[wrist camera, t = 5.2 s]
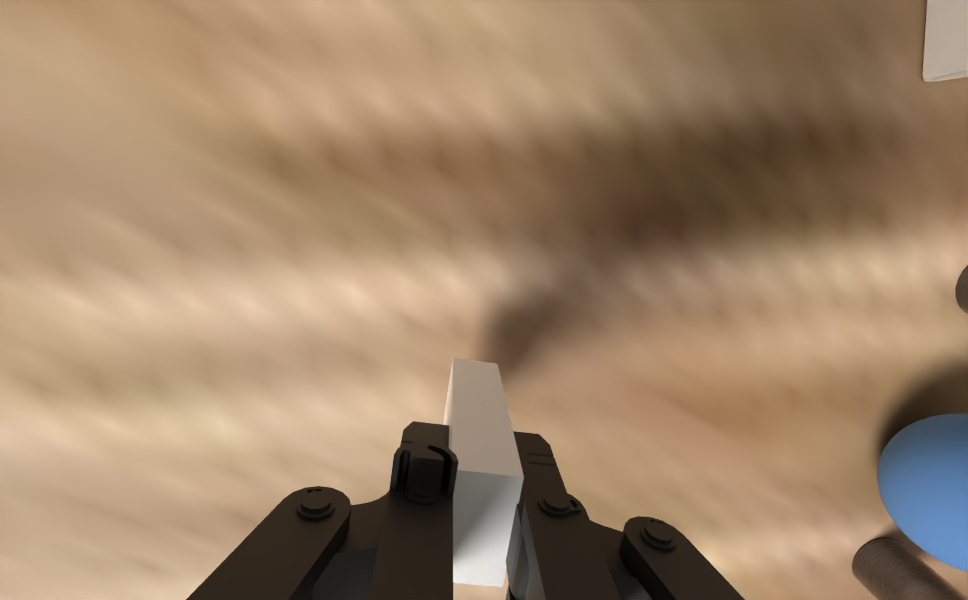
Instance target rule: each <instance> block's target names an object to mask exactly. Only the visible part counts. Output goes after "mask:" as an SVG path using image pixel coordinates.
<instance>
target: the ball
mask: <svg viewBox="0 0 968 600" xmlns="http://www.w3.org/2000/svg"><path fill="white" fill-rule="evenodd" d="M877 479H878V487H879V491H880V495H881V498H882V501H883V503H884V505H885V507H886V509H887V511H888V513H889V515H890V516H891V518H892V519H893V521H894V522H895V523H896V525H897V526H898V527H899V528H900V529H901V531H902V532H903V533H904V534H905V535H906V536H907V537H908V538H909V539H910V540H911V541H913V542H914V543H915V544H916V545H917V546H919V547H920V548H921V549H923V550H924V551H925V552H927V553H928V554H930V555H931V556H933V557H935V558H936V559H938V560H940V561H942V562H944V563H946V564H948V565H950V566H952V567H954V568H957V569H960V570H962V571H965V572H968V414H965V413H955V414H943V415H937V416H931V417H928V418H925V419H922V420H919V421H916V422H914V423H912V424H910V425H908V426H906V427H905V428H903V429H902V430H900V431H899V432H898V433H897V434H896V435H895V436H894V437H893V438H892V439H891V440H890V441H889V442H888V444H887V445H886V447H885V448H884V450H883V452H882V454H881V457H880V460H879V464H878V471H877Z"/></svg>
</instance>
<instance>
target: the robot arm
mask: <svg viewBox="0 0 968 600" xmlns="http://www.w3.org/2000/svg"><path fill="white" fill-rule="evenodd" d="M506 567H507V574H508V581H509V585H508V590H507V595H506V600H745V599H744V598H743V597H742V596H741V595H740V594H739V593H738V592H737V591H736V590H735V589H734V588H733V587H732V586H731V585H730V584H729V582H728V581H727V580H726V579H725V578H724V577H723V576H722V575H721V574H720V573H719V572H718V571H717V570H716V569H715V568H714V567H713V566H712V565H711V563H710V562H709V561H708V560H707V559H706V558H705V557H704V556H703V555H702V554H701V553H700V552H699V551H698V550H697V549H696V548H695V547H694V546H693V544H692V543H691V542H690V541H689V540H688V539H687V538H686V537H685V536H684V535H683V534H682V533H680V532H679V531H678V530H677V529H676V528H674V527H673V526H671V525H669V524H667V523H665V522H664V521H661V520H659V519H655V518H651V517H640V516H638V517H635V518H631V519H629V520H628V521H627V522H626V523H625V526H624V530H623V532H621V531H618V530H615V529H612V528H609V527H605V526H602V525H600V524H597V523H595V522H593V521H591V520H589V517H588V515H587V512H586V510H585V508H584V507H583V505H582V504H581V502H580V501H578V500H577V499H576V498H575V497H573V496H572V495H570V494H568V493H567V492H566V489H565V486H564V483H563V481H562V478H561V475H560V472H559V470H558V467H557V464H556V461H555V458H553V453H552V450H551V447H550V445H549V444H548V443H547V442H546V441H545V440H544V439H543V438H542V437H541V436H540V435H539V434H532V433H523V432H514V431H513V428H512V424H511V420H510V416H509V411H508V407H507V403H506V399H505V394H504V390H503V386H502V382H501V377H500V373H499V369H498V364H497V363H490V362H482V361H474V360H466V359H458V358H453V360H452V367H451V374H450V381H449V387H448V394H447V401H446V408H445V414H444V421H443V425H440V424H431V423H422V422H412V423H411V424H410V425H409V426H407V427H406V428H405V429H404V431H403V436H402V440H401V445H400V448H398V449H397V451H396V453H395V454H394V459H393V467H392V475H391V483H390V490H389V492H388V493H387V494H386V495H384V496H383V497H381V498H380V499H377V500H375V501H372V502H369V503H364V504H358V505H351V504H350V500H349V498H348V497H347V496H346V495H345V494H344V493H343V492H341V491H338V490H336V489H333V488H329V487H321V486H317V487H308V488H304V489H301V490H298V491H295V492H293V493H291V494H290V495H289V496H287V497H286V498H284V499H283V500H282V501H281V502H280V503H279V504H278V505H277V506H276V507H275V509H274V510H273V511H272V512H271V513H270V514H269V515H268V516H267V517H266V518H265V519H264V520H263V521H262V522H261V523H260V524H259V525H258V526H257V527H256V528H255V529H254V530H253V531H252V532H251V533H250V534H249V535H248V536H247V537H246V538H245V539H244V541H243V542H242V543H241V544H240V545H239V546H238V547H237V548H236V549H235V550H234V551H233V552H232V553H231V554H230V555H229V556H228V557H227V558H226V559H225V560H224V561H223V562H222V563H221V564H220V565H219V566H218V567H217V568H216V569H215V570H214V571H213V573H212V574H211V575H210V576H209V577H208V578H207V579H206V580H205V581H204V582H203V583H202V584H201V585H200V586H199V587H198V588H197V589H196V590H195V591H194V592H193V593H192V594H191V595H190V596H189V597H188V598H187V599H186V600H453V583H462V584H474V585H486V586H498V587H503V583H504V578H505V572H506Z"/></svg>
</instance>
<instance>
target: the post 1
mask: <svg viewBox="0 0 968 600" xmlns="http://www.w3.org/2000/svg"><path fill="white" fill-rule="evenodd" d="M852 569H853V573H854V575H855V577H856V578H857V579H858V580H859V581H860V582H861V583H862V584H863V585H864V586H865V587H866V588H867V589H868V590H869V591H870V592H871V593H872V594H873V595H874V596H875V597H876V598H877V599H878V600H968V598H967V597H966V596H965V595H963V594H962V593H961V592H960V591H959V590H957V589H956V588H955V587H954V586H952V585H951V584H950V583H949V582H948V581H946V580H945V579H944V578H943V577H941V576H940V575H939V574H938V573H936V572H935V571H934V570H933V569H932V568H930V567H929V566H928V565H927V564H925V563H924V562H923V561H922V560H921V559H919V558H918V557H917V556H916V555H914V554H913V553H912V552H911V551H909V550H908V549H907V548H906V547H905V546H903V545H902V544H901V543H900V542H898V541H896V540H894V539H891V538H880V539H876V540H873V541H871V542H869V543H867V544H866V545H864V546H863V547H862V548H861V549H860V550H859V551H858V553H857V554H856V556H855V558H854V560H853V565H852Z"/></svg>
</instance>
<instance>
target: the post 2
mask: <svg viewBox="0 0 968 600" xmlns="http://www.w3.org/2000/svg"><path fill="white" fill-rule="evenodd" d="M956 298H957V302H958V304H959V306H960V307H961V309H962V310H963V311H965V312H966V313H968V267H967V268H966V269H965V270H964V272H963V273H962V275H961V276H960V278H959V281H958V283H957V288H956Z"/></svg>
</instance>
